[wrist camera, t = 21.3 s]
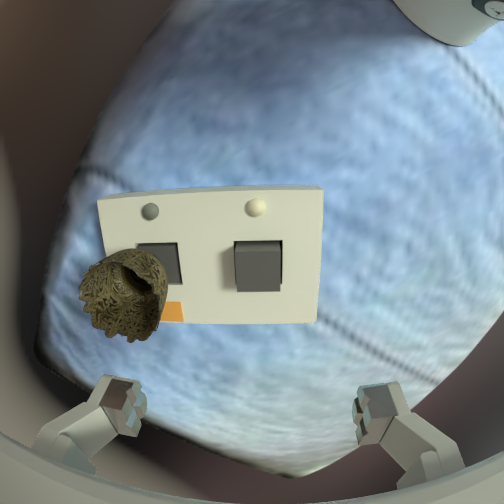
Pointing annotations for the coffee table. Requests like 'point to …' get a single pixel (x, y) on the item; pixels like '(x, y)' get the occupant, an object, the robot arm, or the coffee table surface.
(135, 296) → the brown textured goblet
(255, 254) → the block
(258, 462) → the coffee table surface
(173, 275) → the block
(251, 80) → the coffee table surface
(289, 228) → the panel
